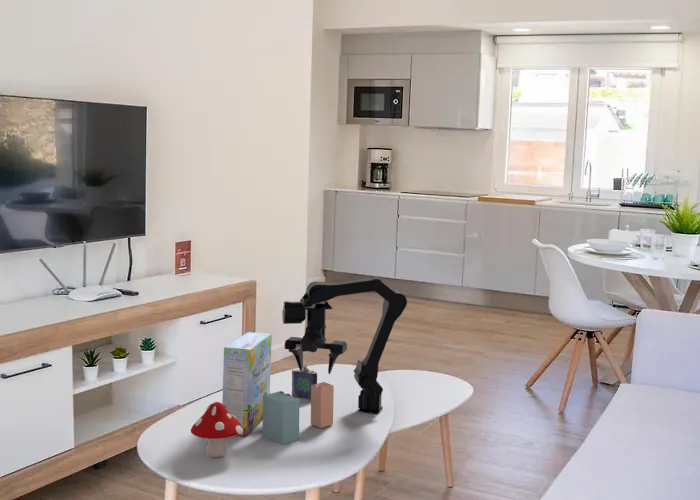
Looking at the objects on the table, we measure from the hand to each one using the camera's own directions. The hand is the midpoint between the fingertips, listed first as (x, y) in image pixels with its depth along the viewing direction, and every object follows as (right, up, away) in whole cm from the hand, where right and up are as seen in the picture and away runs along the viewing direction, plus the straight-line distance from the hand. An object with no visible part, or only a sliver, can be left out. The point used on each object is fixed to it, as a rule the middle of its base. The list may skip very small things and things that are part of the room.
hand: (315, 372), depth 254 cm
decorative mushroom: (-25, -17, -35) cm, 46 cm away
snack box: (-20, -14, -9) cm, 26 cm away
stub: (+2, -14, -9) cm, 17 cm away
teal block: (-9, -16, -21) cm, 27 cm away
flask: (-4, -11, +17) cm, 21 cm away
